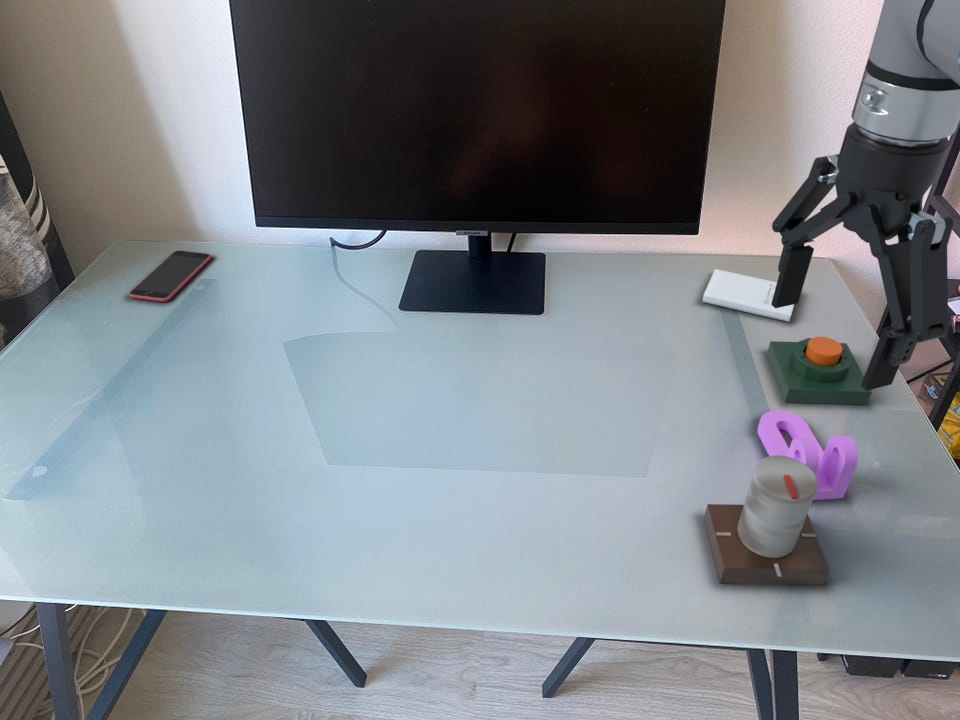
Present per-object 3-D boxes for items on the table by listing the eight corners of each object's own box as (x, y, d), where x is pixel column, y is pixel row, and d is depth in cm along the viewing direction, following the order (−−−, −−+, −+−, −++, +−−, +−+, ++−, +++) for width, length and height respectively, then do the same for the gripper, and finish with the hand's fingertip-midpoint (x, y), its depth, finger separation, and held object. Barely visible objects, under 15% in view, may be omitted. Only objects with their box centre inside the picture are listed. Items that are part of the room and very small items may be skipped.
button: (842, 366, 94) (846, 355, 93) (810, 365, 95) (813, 354, 93) (833, 347, 97) (837, 336, 96) (801, 346, 98) (804, 335, 97)
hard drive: (713, 276, 118) (797, 294, 114) (701, 303, 112) (788, 323, 108) (715, 267, 117) (799, 285, 113) (703, 294, 111) (791, 313, 107)
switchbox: (866, 405, 94) (876, 380, 92) (784, 402, 95) (792, 378, 92) (842, 355, 102) (850, 331, 99) (766, 353, 102) (773, 330, 100)
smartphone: (125, 294, 116) (175, 249, 126) (126, 297, 116) (176, 252, 127) (166, 299, 114) (213, 253, 125) (167, 303, 115) (213, 256, 125)
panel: (796, 514, 81) (802, 497, 79) (826, 593, 73) (833, 576, 71) (701, 513, 81) (705, 496, 79) (721, 591, 73) (726, 575, 72)
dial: (731, 512, 78) (748, 452, 72) (786, 513, 78) (807, 453, 72) (744, 557, 73) (764, 497, 68) (803, 558, 73) (827, 497, 68)
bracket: (842, 498, 82) (861, 453, 78) (793, 501, 82) (809, 456, 78) (795, 417, 92) (809, 373, 88) (750, 420, 92) (762, 376, 88)
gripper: (765, 84, 68) (722, 282, 81) (989, 205, 50) (886, 436, 63) (835, 74, 70) (782, 269, 83) (1077, 188, 51) (958, 416, 65)
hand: (826, 342), depth 73 cm, fingers open, 13 cm apart
